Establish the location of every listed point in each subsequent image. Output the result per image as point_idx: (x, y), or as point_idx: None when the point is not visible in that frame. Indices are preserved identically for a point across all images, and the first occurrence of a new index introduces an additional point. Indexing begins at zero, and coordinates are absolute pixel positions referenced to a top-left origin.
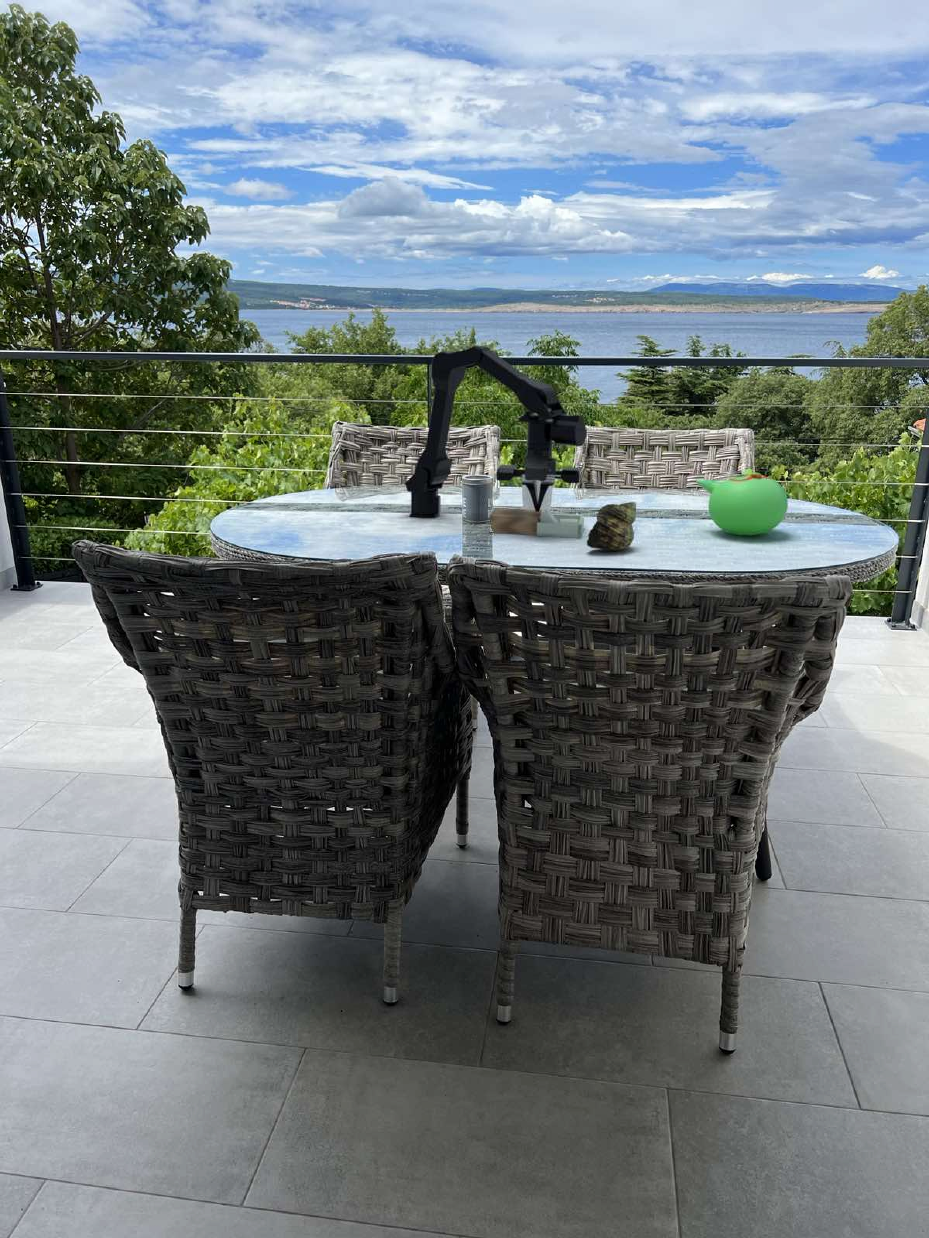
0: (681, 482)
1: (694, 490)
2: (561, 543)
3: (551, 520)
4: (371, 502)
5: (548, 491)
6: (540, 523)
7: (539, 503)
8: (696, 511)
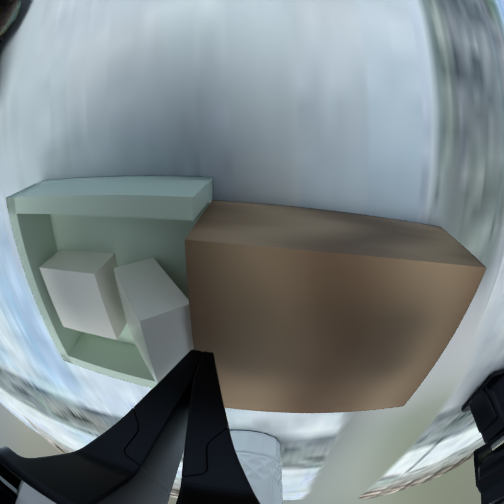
0: None
1: None
2: (94, 57)
3: (128, 284)
4: None
5: None
6: (171, 196)
7: (173, 386)
8: (25, 401)
